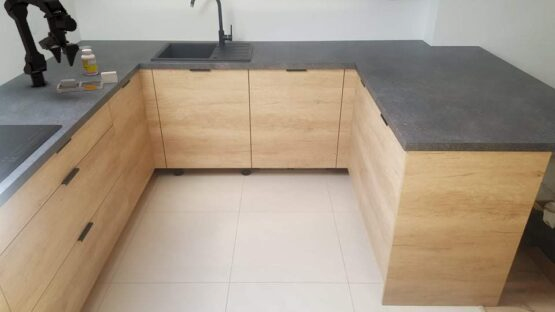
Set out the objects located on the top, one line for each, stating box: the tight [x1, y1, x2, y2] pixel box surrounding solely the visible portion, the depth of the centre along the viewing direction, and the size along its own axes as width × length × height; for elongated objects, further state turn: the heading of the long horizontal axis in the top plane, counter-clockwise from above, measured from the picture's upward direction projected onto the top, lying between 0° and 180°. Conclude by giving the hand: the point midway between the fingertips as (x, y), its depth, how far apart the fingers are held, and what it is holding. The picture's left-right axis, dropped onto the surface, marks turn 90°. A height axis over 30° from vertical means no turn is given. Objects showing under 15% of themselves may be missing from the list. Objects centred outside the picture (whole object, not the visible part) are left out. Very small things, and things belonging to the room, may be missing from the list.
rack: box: [56, 79, 105, 94], centre depth 195 cm, size 8×20×2 cm, turn 108°
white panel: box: [100, 71, 119, 84], centre depth 203 cm, size 2×7×5 cm, turn 108°
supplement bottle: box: [80, 48, 99, 77], centre depth 213 cm, size 7×7×13 cm
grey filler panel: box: [60, 78, 77, 87], centre depth 194 cm, size 2×6×4 cm, turn 108°
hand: (65, 64), depth 184 cm, fingers open, 9 cm apart
